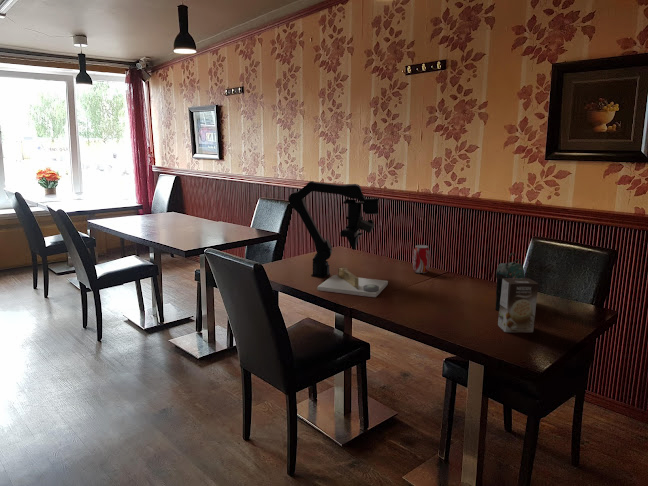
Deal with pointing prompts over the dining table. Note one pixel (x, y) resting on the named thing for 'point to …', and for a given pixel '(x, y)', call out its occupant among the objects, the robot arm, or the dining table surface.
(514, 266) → the ceramic cat
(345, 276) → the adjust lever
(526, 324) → the coffee box
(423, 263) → the soda can
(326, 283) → the base
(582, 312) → the dining table surface
